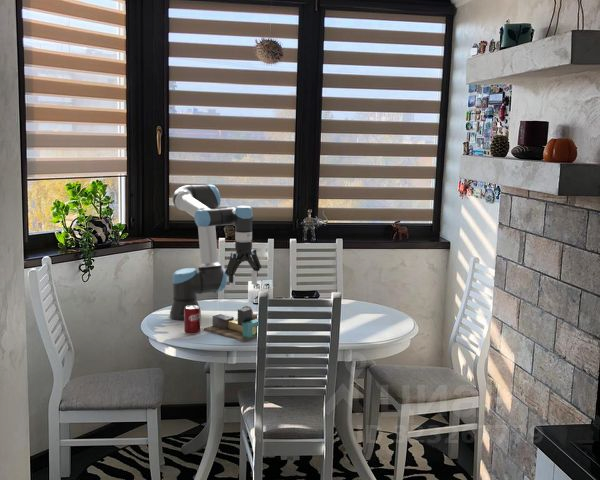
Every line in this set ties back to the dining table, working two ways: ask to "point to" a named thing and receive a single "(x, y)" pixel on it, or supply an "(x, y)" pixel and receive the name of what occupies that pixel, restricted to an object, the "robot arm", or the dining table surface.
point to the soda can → (192, 319)
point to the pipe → (254, 316)
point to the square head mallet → (241, 320)
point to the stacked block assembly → (221, 323)
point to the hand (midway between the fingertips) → (243, 287)
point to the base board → (228, 333)
